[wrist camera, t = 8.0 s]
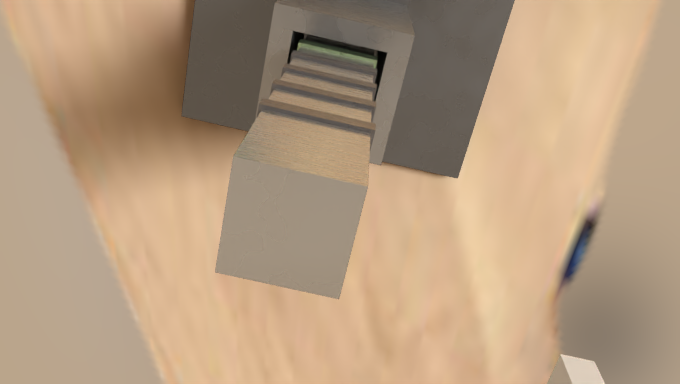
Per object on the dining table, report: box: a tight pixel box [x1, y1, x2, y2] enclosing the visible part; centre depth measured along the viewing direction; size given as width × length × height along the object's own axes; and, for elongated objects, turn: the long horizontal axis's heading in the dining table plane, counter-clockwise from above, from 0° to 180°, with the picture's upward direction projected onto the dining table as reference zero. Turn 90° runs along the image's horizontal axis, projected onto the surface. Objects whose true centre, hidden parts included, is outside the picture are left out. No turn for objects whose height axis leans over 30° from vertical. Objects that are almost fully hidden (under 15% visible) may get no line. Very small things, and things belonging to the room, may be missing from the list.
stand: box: [182, 0, 515, 178], centre depth 41 cm, size 16×22×13 cm
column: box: [215, 34, 377, 299], centre depth 29 cm, size 4×4×22 cm
